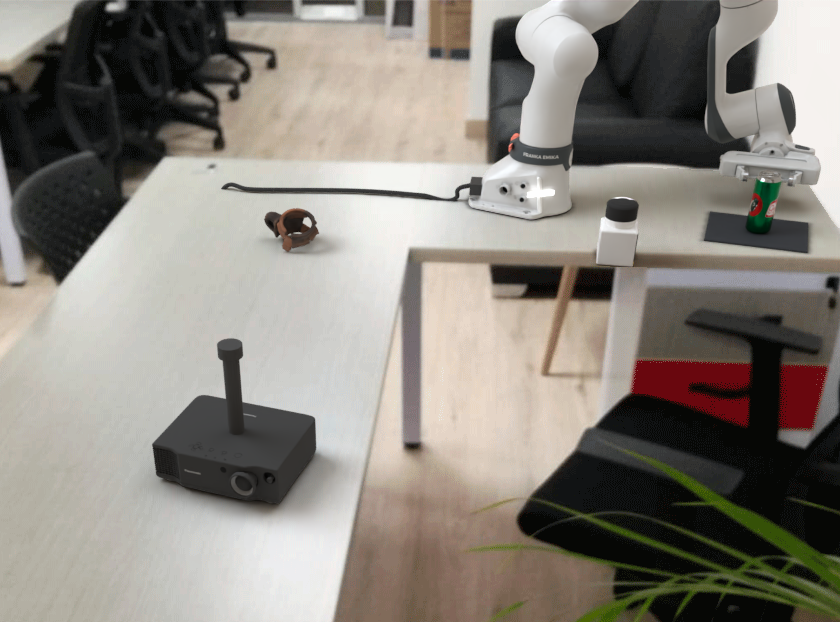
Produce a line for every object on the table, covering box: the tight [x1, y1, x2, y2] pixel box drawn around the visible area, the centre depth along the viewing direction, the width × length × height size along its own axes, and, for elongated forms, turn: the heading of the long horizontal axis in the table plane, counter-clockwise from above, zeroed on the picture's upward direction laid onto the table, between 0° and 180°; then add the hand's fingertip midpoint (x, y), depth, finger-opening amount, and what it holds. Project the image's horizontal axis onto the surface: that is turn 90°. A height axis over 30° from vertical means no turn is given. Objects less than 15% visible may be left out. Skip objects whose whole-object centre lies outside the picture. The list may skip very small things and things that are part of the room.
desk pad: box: [703, 211, 809, 254], centre depth 224 cm, size 20×16×1 cm
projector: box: [151, 337, 317, 505], centre depth 150 cm, size 19×17×20 cm
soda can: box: [745, 170, 783, 234], centre depth 220 cm, size 5×5×12 cm
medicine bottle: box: [595, 196, 640, 268], centre depth 210 cm, size 7×7×12 cm
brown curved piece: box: [263, 207, 320, 253], centre depth 220 cm, size 12×10×8 cm
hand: (767, 180), depth 224 cm, fingers open, 8 cm apart
